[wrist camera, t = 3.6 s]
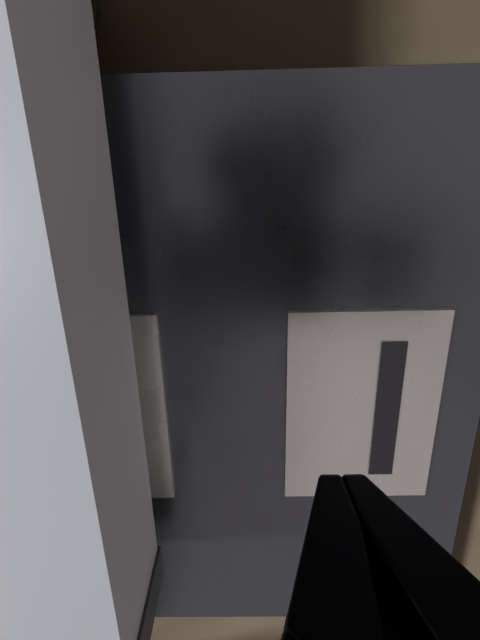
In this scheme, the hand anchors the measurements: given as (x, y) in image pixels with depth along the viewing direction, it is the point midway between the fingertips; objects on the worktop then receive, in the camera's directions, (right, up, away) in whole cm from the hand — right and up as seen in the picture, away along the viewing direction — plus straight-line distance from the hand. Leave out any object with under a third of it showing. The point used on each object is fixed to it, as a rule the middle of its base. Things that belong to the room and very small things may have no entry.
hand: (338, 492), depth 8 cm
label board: (-2, +2, +7) cm, 7 cm away
